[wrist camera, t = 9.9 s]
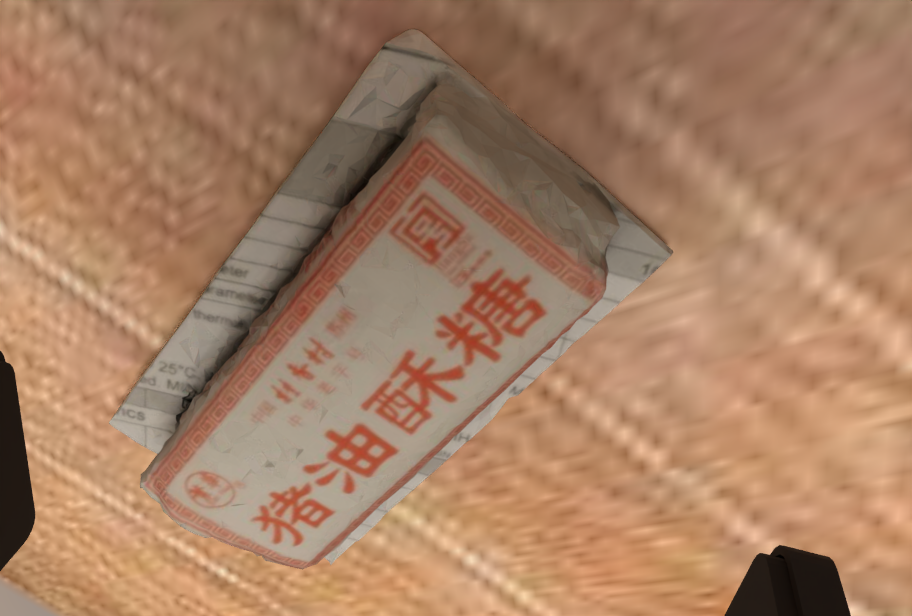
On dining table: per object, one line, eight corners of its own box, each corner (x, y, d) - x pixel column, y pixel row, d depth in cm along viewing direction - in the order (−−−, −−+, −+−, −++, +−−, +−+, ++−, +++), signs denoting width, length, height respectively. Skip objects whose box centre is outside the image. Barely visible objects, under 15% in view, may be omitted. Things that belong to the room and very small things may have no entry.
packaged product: (365, 44, 18) (689, 316, 20) (410, 10, 22) (673, 236, 24) (51, 485, 26) (301, 645, 28) (126, 398, 30) (339, 543, 32)
